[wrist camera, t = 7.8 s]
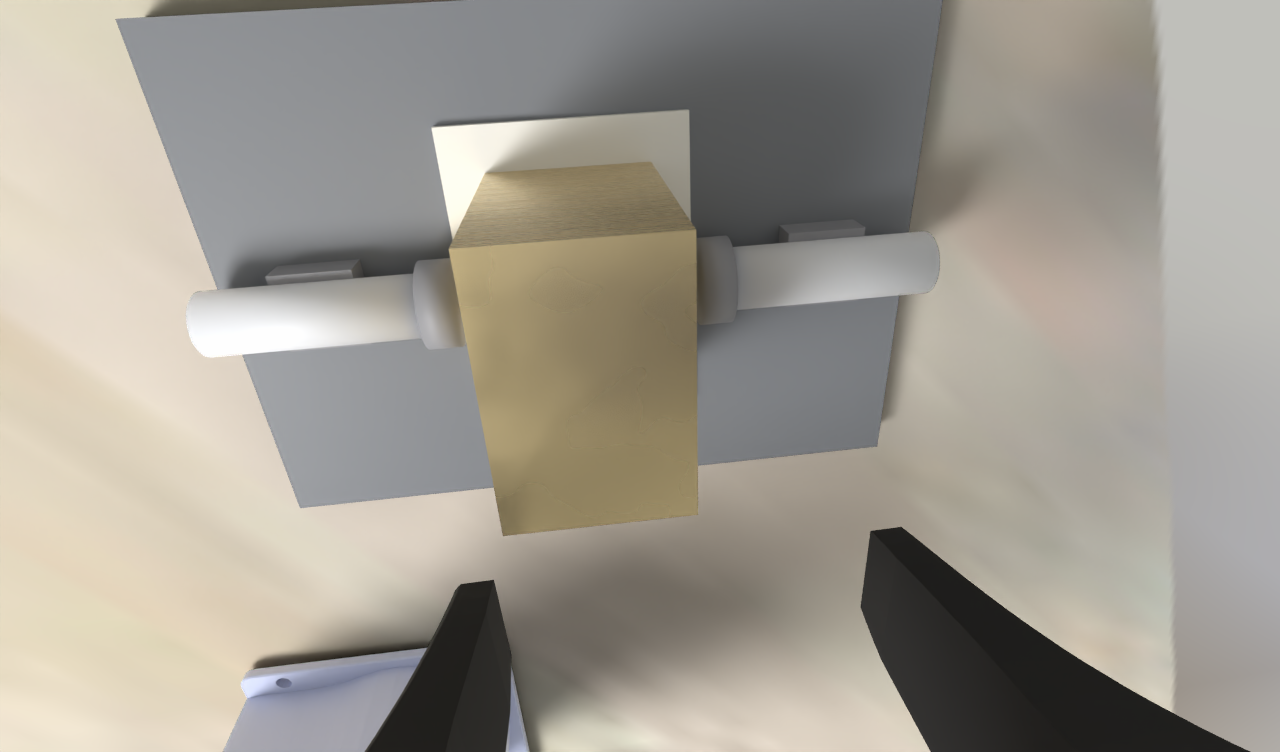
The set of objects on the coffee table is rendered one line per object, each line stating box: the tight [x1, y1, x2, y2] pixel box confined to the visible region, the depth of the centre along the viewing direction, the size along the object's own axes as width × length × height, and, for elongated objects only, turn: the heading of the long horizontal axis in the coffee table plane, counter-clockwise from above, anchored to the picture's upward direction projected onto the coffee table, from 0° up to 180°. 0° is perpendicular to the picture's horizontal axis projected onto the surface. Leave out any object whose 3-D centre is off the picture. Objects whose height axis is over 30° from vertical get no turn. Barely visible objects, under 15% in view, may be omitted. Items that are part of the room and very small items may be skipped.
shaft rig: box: [116, 0, 943, 508], centre depth 17 cm, size 18×13×3 cm
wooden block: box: [449, 162, 698, 536], centre depth 15 cm, size 4×6×6 cm, turn 2°
